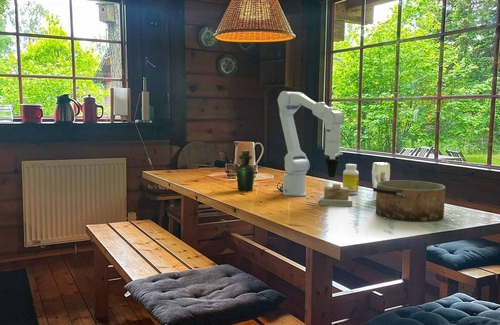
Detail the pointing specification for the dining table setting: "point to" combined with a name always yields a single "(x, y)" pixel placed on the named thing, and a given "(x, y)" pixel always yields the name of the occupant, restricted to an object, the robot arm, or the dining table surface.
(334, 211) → the dining table surface
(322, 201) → the dock
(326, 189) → the pallet
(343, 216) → the dining table surface
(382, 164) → the beer glass
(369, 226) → the dining table surface
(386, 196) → the cooking pot
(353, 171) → the supplement bottle
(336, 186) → the tan square block
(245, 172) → the potion bottle
